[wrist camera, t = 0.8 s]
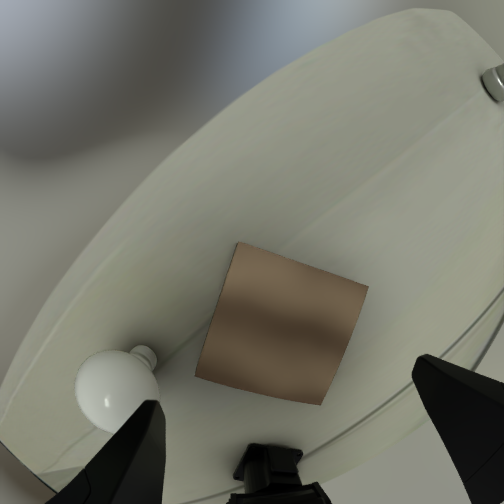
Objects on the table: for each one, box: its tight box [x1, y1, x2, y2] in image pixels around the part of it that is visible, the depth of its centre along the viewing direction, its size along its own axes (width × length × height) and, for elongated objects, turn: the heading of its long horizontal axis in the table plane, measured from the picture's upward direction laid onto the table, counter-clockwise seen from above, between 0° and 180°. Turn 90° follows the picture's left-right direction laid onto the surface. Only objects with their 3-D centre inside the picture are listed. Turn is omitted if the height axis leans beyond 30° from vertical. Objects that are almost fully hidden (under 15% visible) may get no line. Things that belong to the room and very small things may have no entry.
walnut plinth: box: [195, 242, 369, 405], centre depth 23 cm, size 12×12×2 cm
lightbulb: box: [74, 345, 160, 434], centre depth 18 cm, size 6×6×11 cm
